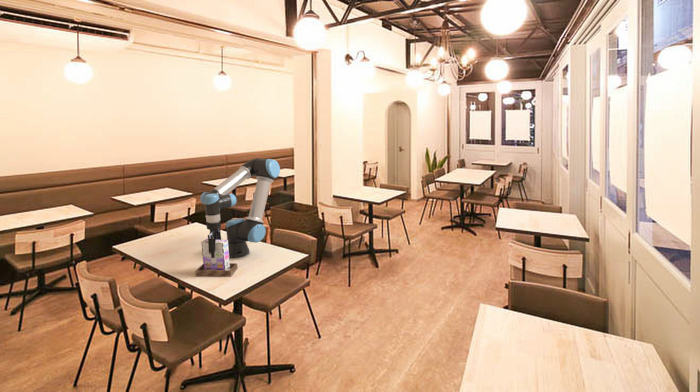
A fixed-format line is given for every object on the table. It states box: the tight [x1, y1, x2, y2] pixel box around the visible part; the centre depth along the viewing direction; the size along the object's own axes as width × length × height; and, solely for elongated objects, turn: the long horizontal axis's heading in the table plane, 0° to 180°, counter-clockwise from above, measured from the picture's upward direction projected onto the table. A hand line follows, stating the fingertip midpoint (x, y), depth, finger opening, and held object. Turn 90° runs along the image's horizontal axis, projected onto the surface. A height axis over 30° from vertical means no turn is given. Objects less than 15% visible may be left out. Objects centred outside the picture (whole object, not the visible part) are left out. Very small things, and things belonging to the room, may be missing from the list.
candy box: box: [200, 238, 231, 270], centre depth 225 cm, size 14×6×16 cm, turn 76°
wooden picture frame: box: [194, 262, 238, 278], centre depth 227 cm, size 20×12×3 cm, turn 88°
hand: (216, 260), depth 226 cm, fingers closed on candy box, 6 cm apart
